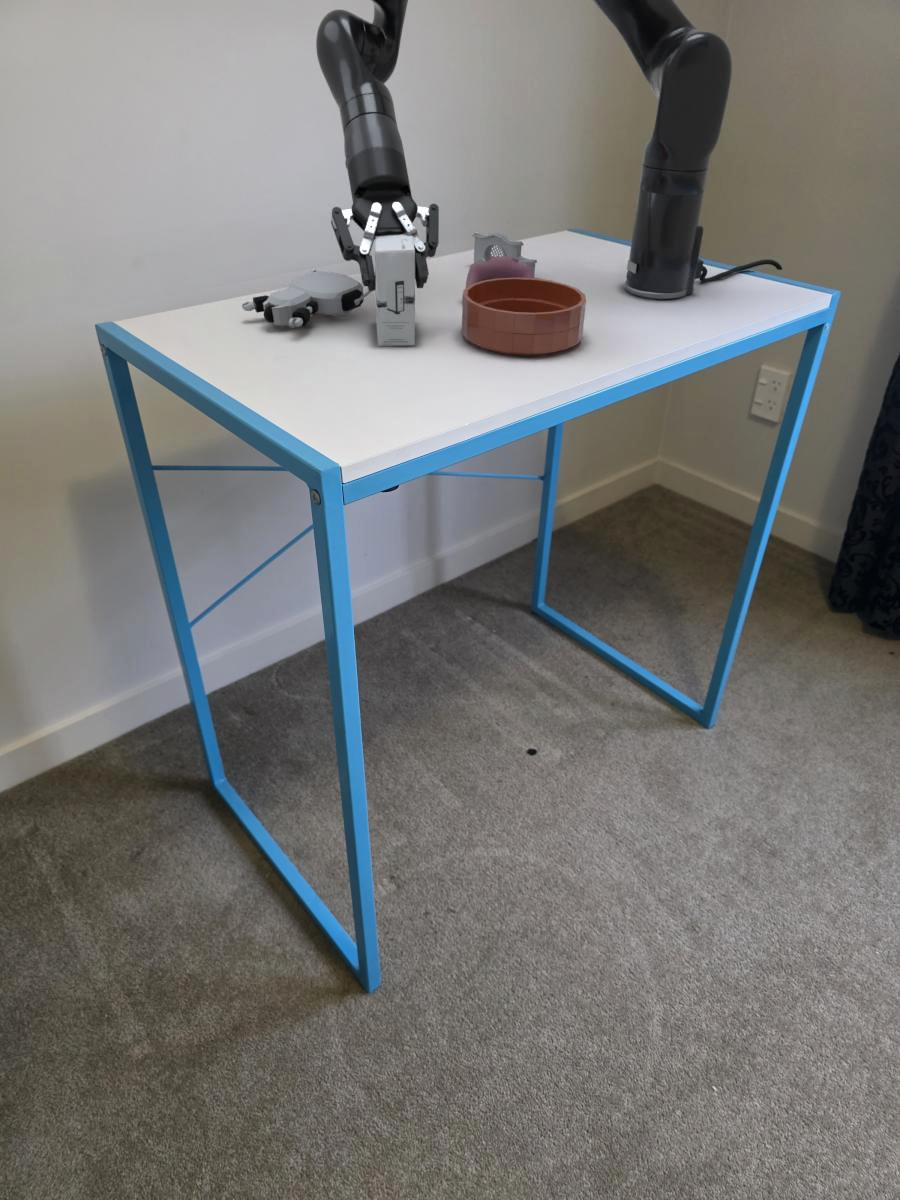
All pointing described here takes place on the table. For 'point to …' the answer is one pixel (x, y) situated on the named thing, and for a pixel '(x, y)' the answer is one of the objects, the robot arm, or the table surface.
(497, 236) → the lattice window wall
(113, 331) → the table surface
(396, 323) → the ink box
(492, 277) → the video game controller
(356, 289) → the robot toy
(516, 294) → the bowl
